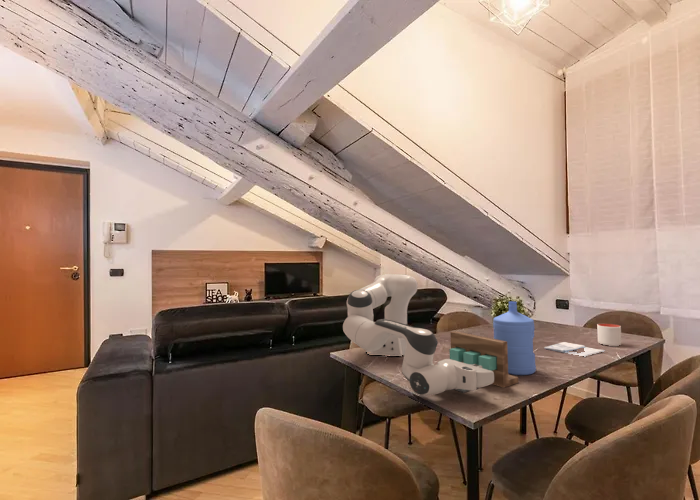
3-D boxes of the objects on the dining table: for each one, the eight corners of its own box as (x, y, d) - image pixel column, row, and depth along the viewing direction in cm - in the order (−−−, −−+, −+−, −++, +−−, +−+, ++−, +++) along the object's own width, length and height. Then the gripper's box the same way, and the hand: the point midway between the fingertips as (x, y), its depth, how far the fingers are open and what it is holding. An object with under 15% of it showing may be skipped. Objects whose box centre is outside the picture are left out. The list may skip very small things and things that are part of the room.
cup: (626, 346, 184) (625, 327, 184) (606, 347, 184) (605, 327, 184) (612, 342, 194) (611, 323, 194) (593, 342, 194) (592, 323, 194)
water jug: (516, 378, 140) (514, 305, 141) (486, 367, 154) (484, 301, 155) (544, 372, 146) (542, 302, 147) (513, 362, 160) (511, 298, 161)
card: (463, 392, 126) (463, 390, 126) (433, 381, 138) (433, 379, 138) (478, 388, 130) (478, 385, 130) (448, 377, 142) (448, 375, 142)
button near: (489, 371, 130) (488, 359, 130) (478, 368, 134) (478, 356, 134) (501, 367, 134) (500, 355, 134) (490, 365, 138) (490, 353, 138)
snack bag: (565, 345, 192) (565, 340, 192) (607, 353, 174) (607, 348, 174) (542, 350, 183) (542, 345, 183) (584, 359, 165) (584, 354, 165)
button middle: (473, 366, 136) (472, 354, 136) (463, 364, 140) (463, 352, 140) (485, 363, 140) (484, 352, 140) (475, 360, 144) (475, 349, 144)
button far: (458, 362, 142) (458, 351, 142) (449, 360, 146) (449, 349, 146) (470, 359, 146) (469, 348, 146) (461, 357, 150) (461, 346, 150)
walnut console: (503, 387, 130) (502, 342, 130) (451, 371, 150) (450, 332, 151) (518, 382, 135) (517, 339, 135) (466, 367, 155) (465, 329, 155)
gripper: (429, 375, 131) (456, 369, 138) (477, 392, 113) (504, 383, 121) (429, 358, 131) (455, 352, 138) (477, 372, 114) (504, 364, 121)
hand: (478, 367), depth 130 cm, fingers closed
